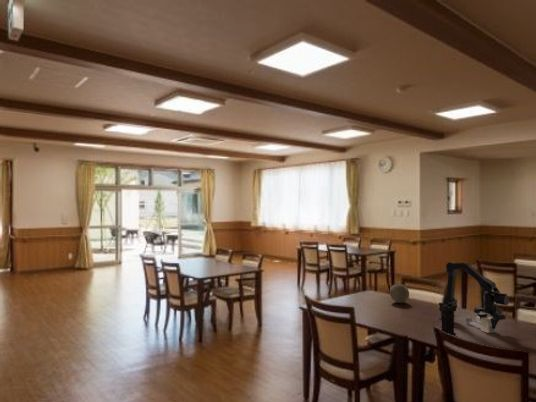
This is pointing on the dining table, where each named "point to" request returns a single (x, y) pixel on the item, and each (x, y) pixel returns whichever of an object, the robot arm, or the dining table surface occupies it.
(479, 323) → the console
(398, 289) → the cantaloupe
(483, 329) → the carriage
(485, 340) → the dining table surface
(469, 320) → the rail
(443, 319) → the black fluted column
